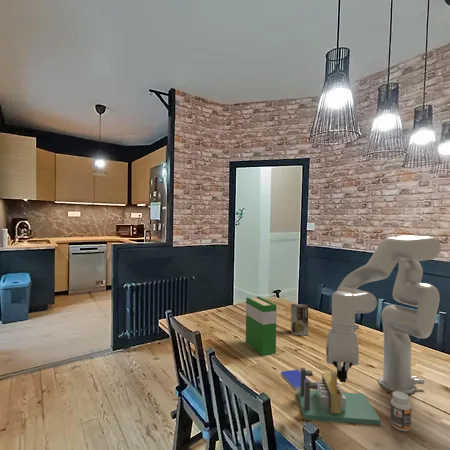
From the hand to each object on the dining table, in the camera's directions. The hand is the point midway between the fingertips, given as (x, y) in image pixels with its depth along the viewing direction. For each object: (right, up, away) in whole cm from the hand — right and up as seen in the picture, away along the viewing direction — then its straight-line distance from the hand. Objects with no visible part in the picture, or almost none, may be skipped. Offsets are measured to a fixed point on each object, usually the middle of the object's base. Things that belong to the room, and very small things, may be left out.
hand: (341, 380), depth 106 cm
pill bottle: (+15, -10, -9) cm, 20 cm away
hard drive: (-11, -10, +18) cm, 24 cm away
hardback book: (-23, -9, +50) cm, 55 cm away
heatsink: (-4, -8, +1) cm, 9 cm away
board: (-2, -10, 0) cm, 10 cm away
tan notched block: (-4, -8, +1) cm, 9 cm away
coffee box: (+2, -9, +70) cm, 71 cm away
